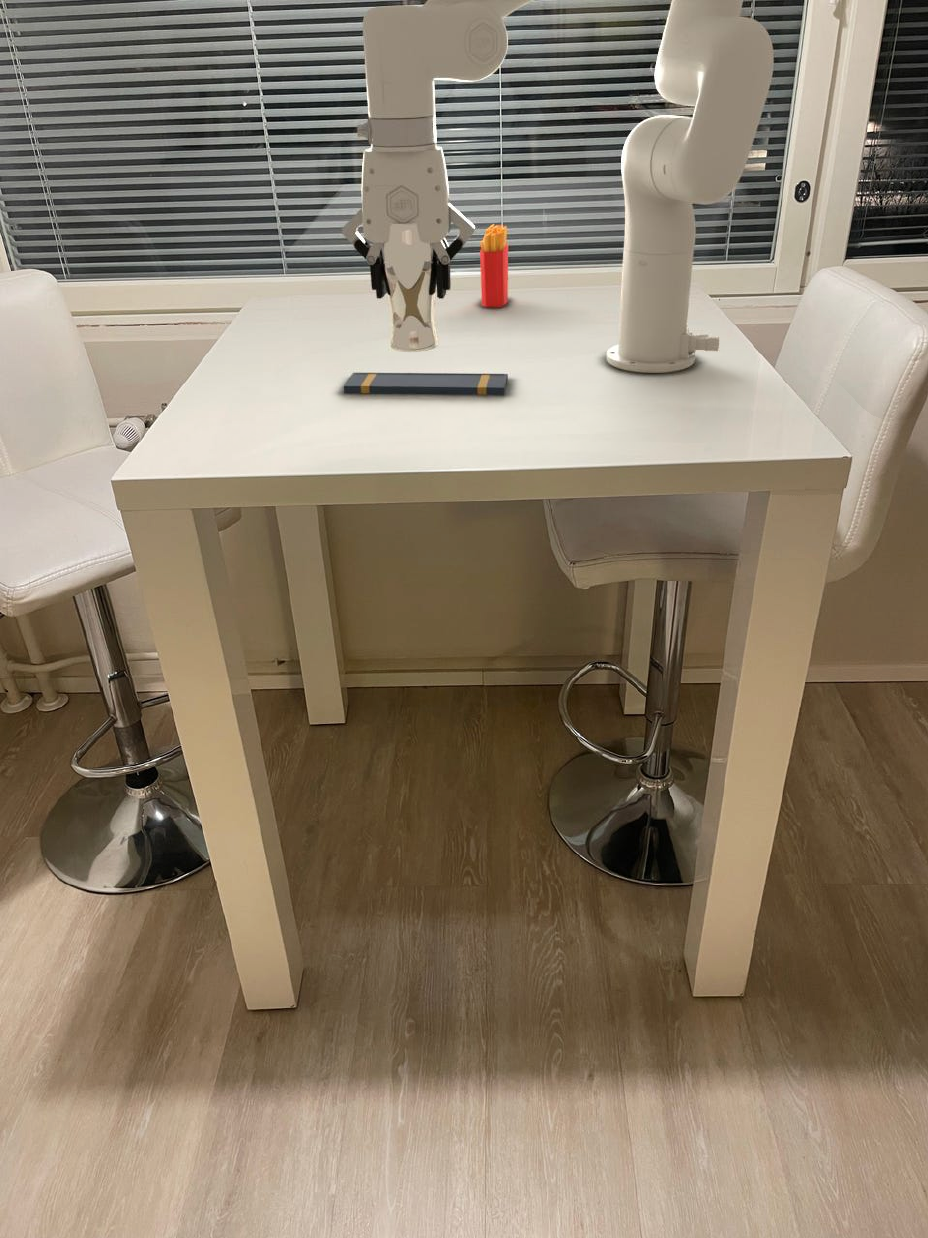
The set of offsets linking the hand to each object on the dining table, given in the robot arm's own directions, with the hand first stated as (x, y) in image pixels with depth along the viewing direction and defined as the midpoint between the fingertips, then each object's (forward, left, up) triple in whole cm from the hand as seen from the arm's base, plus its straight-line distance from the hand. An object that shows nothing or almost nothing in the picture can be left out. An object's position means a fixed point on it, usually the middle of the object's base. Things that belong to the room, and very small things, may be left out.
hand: (411, 294), depth 117 cm
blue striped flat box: (0, -8, -14) cm, 16 cm away
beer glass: (0, 0, -6) cm, 6 cm away
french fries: (-5, -55, -14) cm, 57 cm away
